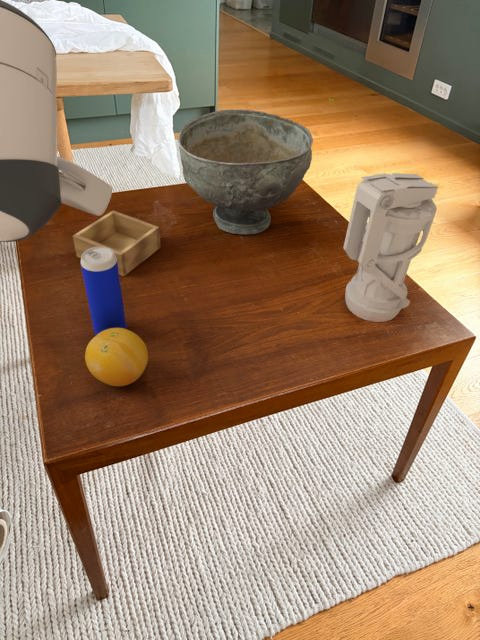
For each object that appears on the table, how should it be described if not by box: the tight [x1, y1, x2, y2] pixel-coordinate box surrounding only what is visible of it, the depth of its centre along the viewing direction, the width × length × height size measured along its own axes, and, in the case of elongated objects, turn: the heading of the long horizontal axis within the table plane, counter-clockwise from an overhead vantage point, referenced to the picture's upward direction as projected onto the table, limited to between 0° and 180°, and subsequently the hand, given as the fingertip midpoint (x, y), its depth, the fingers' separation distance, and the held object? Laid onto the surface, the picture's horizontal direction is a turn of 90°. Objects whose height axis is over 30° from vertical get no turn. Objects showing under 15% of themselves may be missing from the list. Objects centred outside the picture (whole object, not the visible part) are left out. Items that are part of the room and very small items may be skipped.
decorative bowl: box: [177, 108, 314, 235], centre depth 104 cm, size 26×26×20 cm
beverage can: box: [80, 247, 127, 336], centre depth 76 cm, size 5×5×15 cm
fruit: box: [84, 328, 149, 387], centre depth 72 cm, size 9×8×8 cm
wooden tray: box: [72, 210, 162, 277], centre depth 97 cm, size 12×12×5 cm
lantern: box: [343, 172, 439, 323], centre depth 81 cm, size 13×10×25 cm
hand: (69, 196), depth 63 cm, fingers open, 8 cm apart
